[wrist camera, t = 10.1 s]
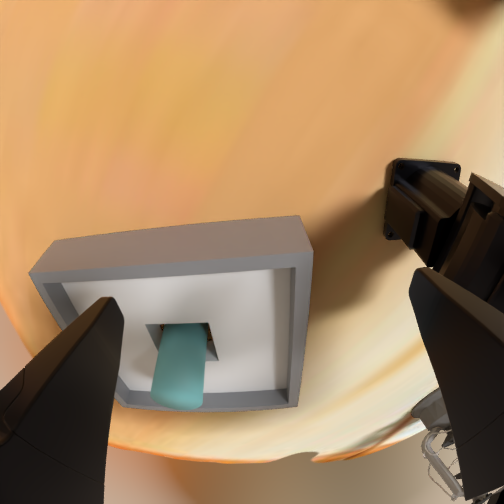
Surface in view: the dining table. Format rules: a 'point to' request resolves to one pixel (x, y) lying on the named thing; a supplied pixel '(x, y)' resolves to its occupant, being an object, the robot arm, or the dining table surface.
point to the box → (196, 303)
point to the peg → (180, 366)
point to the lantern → (436, 420)
